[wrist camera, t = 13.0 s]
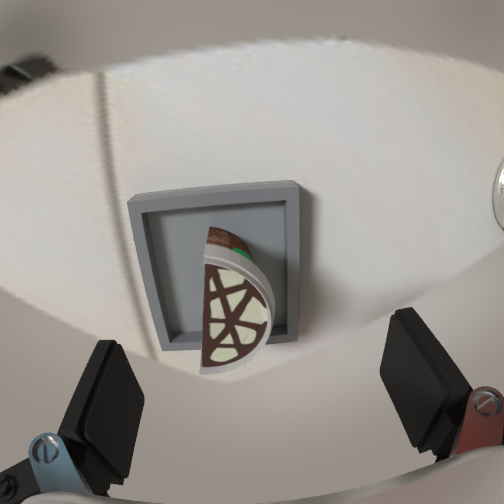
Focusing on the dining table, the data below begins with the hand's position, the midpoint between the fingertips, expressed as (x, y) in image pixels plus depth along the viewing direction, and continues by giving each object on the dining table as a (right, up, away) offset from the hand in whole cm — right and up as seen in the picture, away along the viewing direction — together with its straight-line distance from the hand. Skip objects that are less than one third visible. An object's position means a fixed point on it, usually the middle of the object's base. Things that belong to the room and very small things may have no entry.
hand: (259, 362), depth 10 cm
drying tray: (-4, +2, +24) cm, 25 cm away
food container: (-2, +2, +24) cm, 24 cm away
